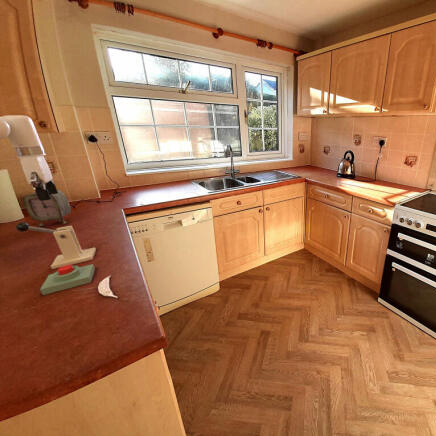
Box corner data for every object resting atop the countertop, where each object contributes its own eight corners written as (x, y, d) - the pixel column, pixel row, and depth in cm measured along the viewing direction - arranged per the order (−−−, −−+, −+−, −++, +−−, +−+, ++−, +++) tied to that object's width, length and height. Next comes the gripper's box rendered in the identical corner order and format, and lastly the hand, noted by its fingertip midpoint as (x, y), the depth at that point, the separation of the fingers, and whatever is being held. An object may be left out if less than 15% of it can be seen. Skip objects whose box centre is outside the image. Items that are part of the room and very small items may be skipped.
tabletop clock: (35, 228, 125) (12, 180, 115) (47, 221, 133) (27, 176, 124) (67, 225, 127) (47, 178, 118) (77, 219, 136) (60, 174, 126)
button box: (42, 295, 75) (37, 284, 73) (51, 280, 82) (46, 270, 81) (90, 282, 80) (86, 272, 79) (95, 269, 88) (91, 259, 86)
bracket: (51, 269, 89) (36, 237, 84) (58, 258, 96) (45, 228, 91) (92, 259, 94) (80, 229, 89) (96, 249, 101) (85, 221, 96)
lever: (13, 231, 82) (15, 223, 82) (17, 228, 85) (19, 220, 85) (67, 239, 91) (69, 231, 90) (69, 236, 93) (71, 228, 93)
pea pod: (97, 281, 81) (96, 277, 80) (113, 276, 83) (112, 272, 83) (100, 305, 70) (98, 301, 69) (118, 298, 72) (116, 294, 72)
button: (58, 276, 78) (56, 272, 77) (61, 271, 81) (59, 266, 80) (72, 273, 79) (70, 268, 79) (75, 267, 82) (73, 263, 82)
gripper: (25, 150, 94) (43, 193, 100) (5, 155, 80) (28, 204, 86) (51, 149, 97) (67, 190, 104) (35, 153, 83) (55, 200, 90)
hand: (49, 196), depth 95 cm, fingers open, 9 cm apart
